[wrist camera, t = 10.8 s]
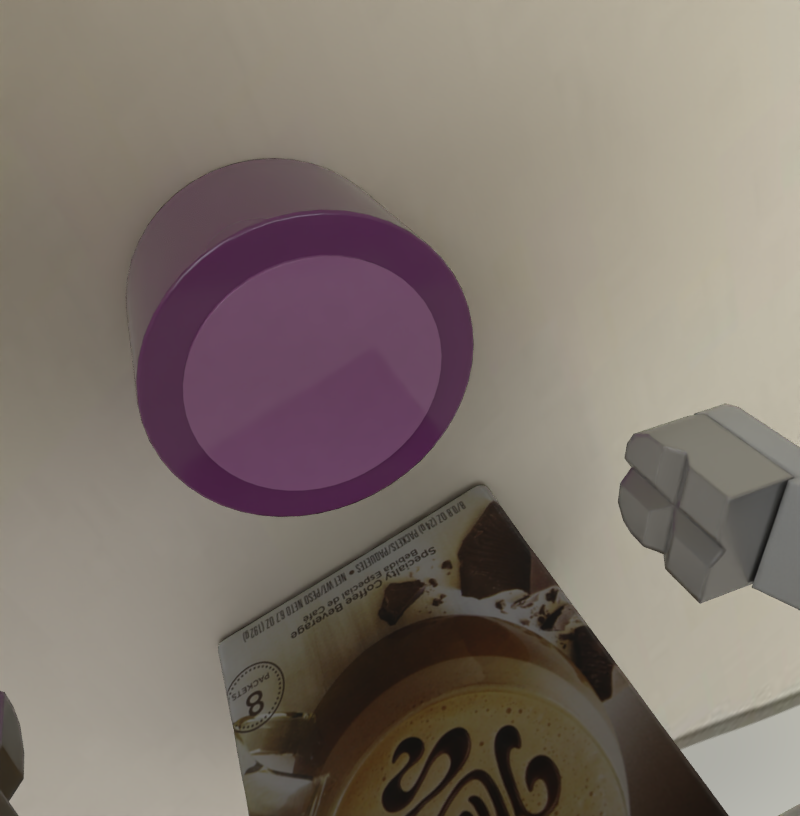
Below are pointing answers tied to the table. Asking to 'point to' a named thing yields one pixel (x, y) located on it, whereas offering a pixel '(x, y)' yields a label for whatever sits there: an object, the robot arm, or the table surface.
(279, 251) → the dish middle
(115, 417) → the table surface
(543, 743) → the coffee box
